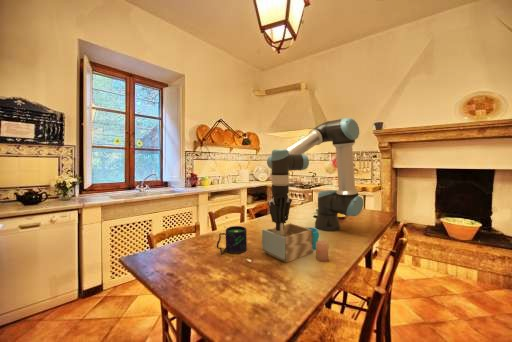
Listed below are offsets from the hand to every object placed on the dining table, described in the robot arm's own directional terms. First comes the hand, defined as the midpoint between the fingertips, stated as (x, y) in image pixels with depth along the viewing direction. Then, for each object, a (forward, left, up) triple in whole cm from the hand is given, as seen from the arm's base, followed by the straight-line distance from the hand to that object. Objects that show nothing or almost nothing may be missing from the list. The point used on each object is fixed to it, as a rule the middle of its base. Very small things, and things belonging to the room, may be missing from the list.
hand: (280, 237), depth 102 cm
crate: (-5, 0, -8) cm, 10 cm away
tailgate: (+4, 0, -7) cm, 8 cm away
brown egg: (-11, +14, -8) cm, 20 cm away
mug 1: (+15, -18, -8) cm, 25 cm away
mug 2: (-20, +1, -8) cm, 22 cm away
